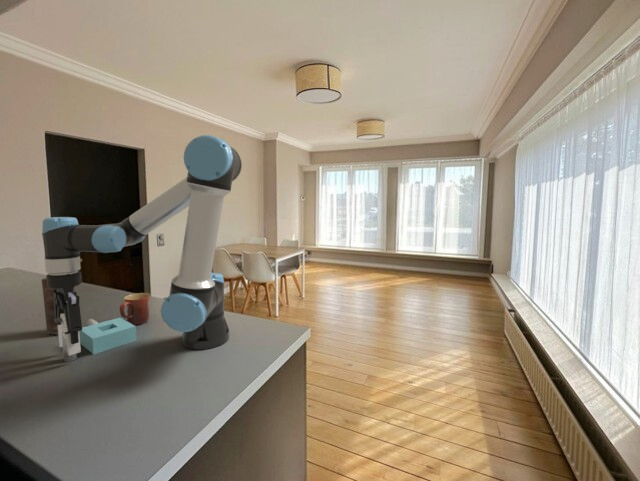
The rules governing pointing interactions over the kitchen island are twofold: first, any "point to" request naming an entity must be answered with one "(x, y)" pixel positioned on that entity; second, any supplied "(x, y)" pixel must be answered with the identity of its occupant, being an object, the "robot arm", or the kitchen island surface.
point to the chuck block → (106, 334)
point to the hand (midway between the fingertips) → (69, 349)
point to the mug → (136, 308)
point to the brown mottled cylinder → (49, 308)
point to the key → (65, 338)
